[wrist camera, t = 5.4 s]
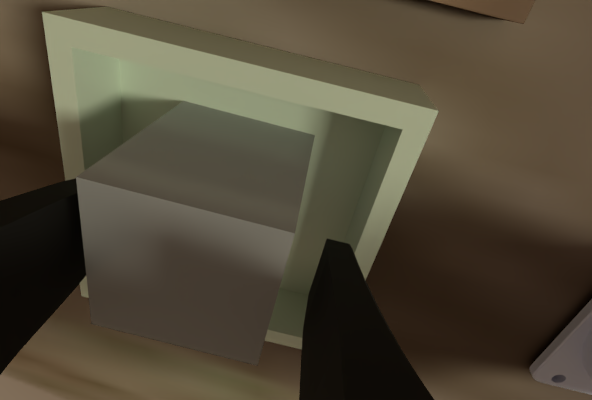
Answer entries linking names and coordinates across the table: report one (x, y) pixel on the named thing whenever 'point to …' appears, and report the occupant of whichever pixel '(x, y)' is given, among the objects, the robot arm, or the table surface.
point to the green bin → (253, 104)
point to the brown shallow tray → (494, 8)
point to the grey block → (193, 229)
